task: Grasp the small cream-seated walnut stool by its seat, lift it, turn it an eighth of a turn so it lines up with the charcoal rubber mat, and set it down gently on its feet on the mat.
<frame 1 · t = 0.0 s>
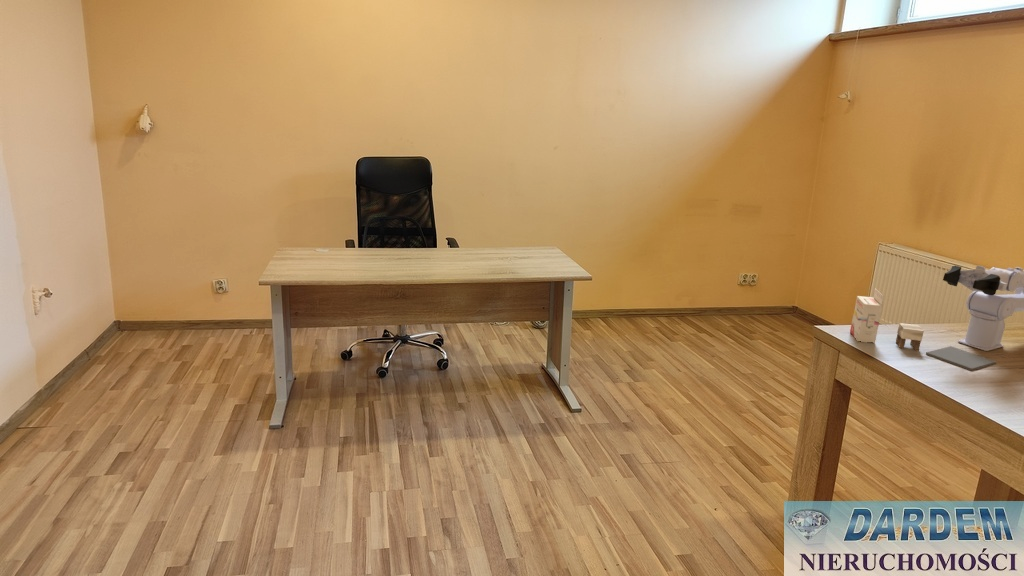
hand: (959, 280, 174), 22 cm above the table, tool horizontal, fingers open, 7 cm apart
ink cartridge box: (861, 338, 192), on the table
stool: (906, 346, 186), on the table
mat: (960, 358, 178), on the table
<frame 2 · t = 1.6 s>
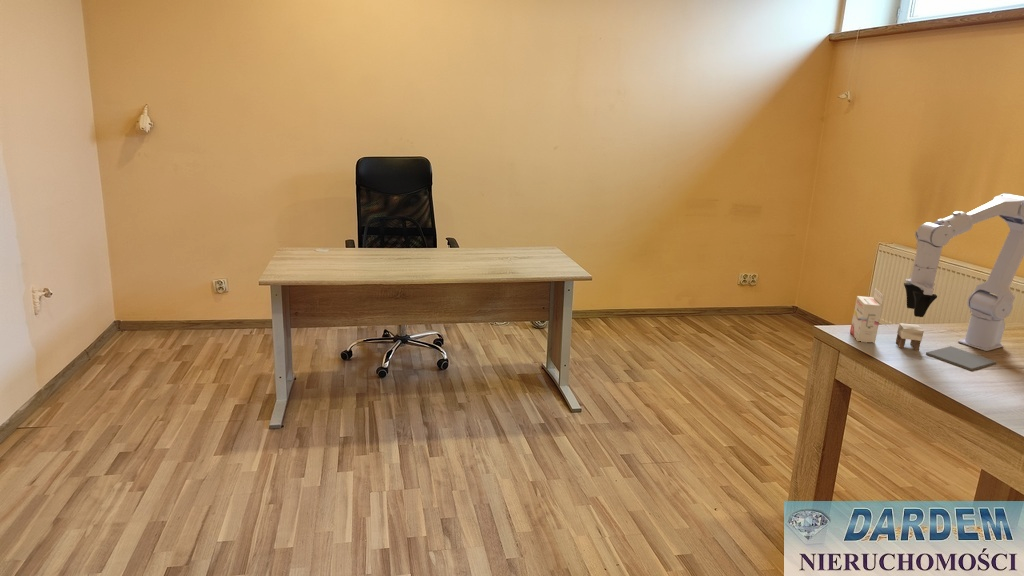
hand: (914, 312, 183), 10 cm above the table, tool pointing down, fingers open, 7 cm apart
nothing on the table moved.
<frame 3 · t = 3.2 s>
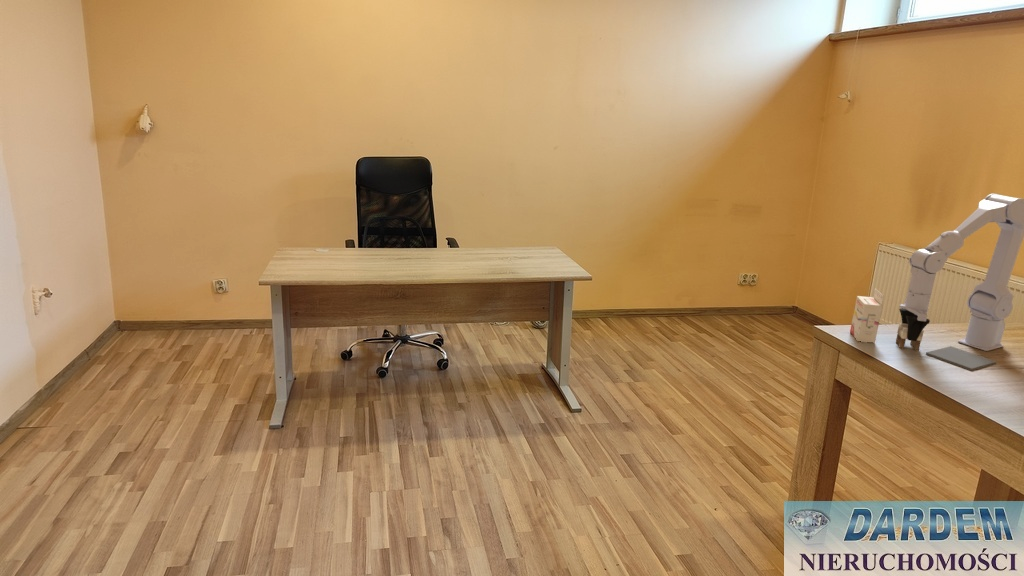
hand: (909, 337, 185), 3 cm above the table, tool pointing down, fingers closed on stool, 5 cm apart
stool: (906, 346, 186), on the table, touching gripper
everything else where it was.
when the fingers open (5 cm above the table, at t = 7.9 s): stool drops 2 cm, resting on mat.
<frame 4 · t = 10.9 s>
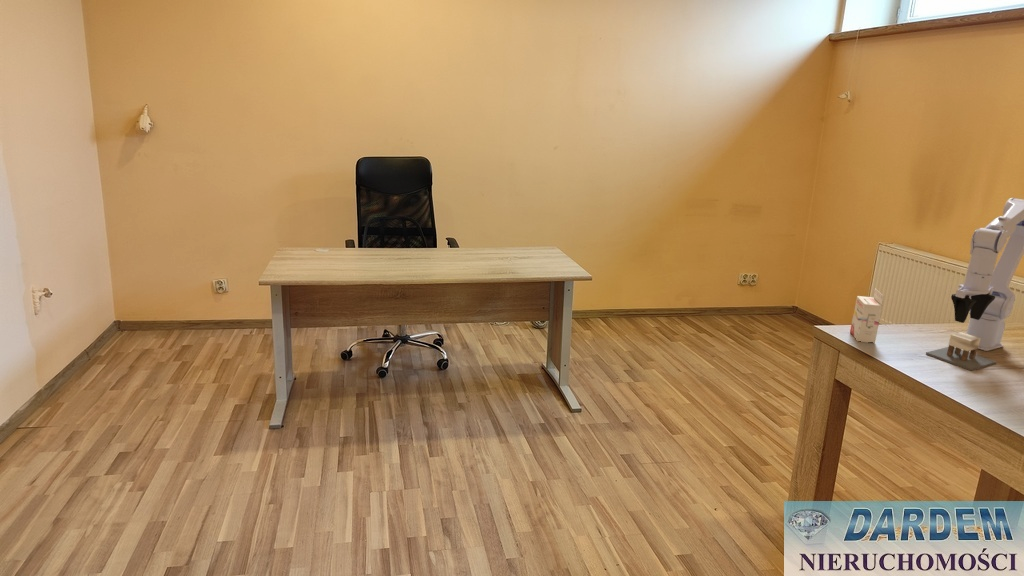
hand: (967, 320, 178), 10 cm above the table, tool pointing down, fingers open, 7 cm apart
stool: (960, 356, 178), point 1 cm above the table, touching mat
everything else where it was.
at the end: stool 0.1 cm off-centre on the mat, point 0.6 cm above the mat's base; stool tilted 0°; the gripper is holding nothing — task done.
